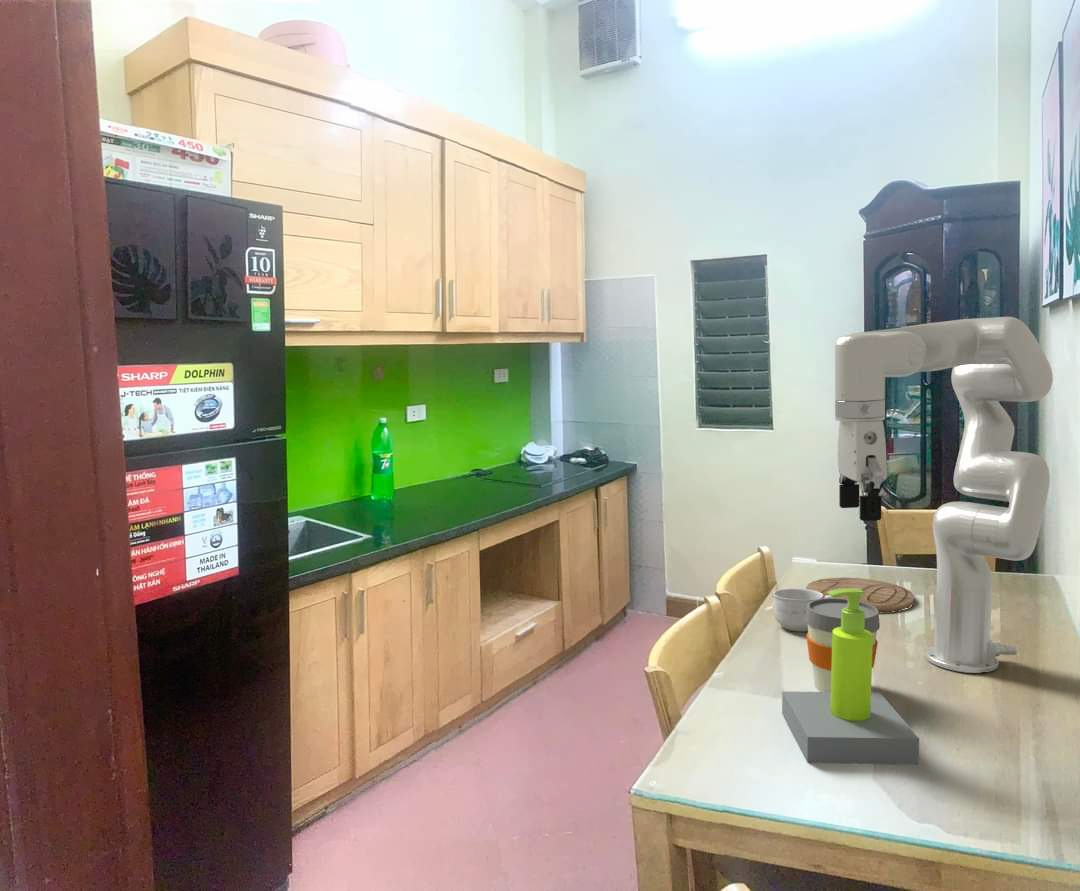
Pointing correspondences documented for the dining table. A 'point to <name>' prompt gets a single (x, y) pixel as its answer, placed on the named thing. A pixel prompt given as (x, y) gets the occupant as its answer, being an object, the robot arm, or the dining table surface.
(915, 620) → the dining table surface
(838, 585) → the trivet
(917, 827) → the dining table surface
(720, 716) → the dining table surface
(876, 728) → the stand
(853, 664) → the soap dispenser
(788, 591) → the teacup
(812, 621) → the reusable coffee cup
